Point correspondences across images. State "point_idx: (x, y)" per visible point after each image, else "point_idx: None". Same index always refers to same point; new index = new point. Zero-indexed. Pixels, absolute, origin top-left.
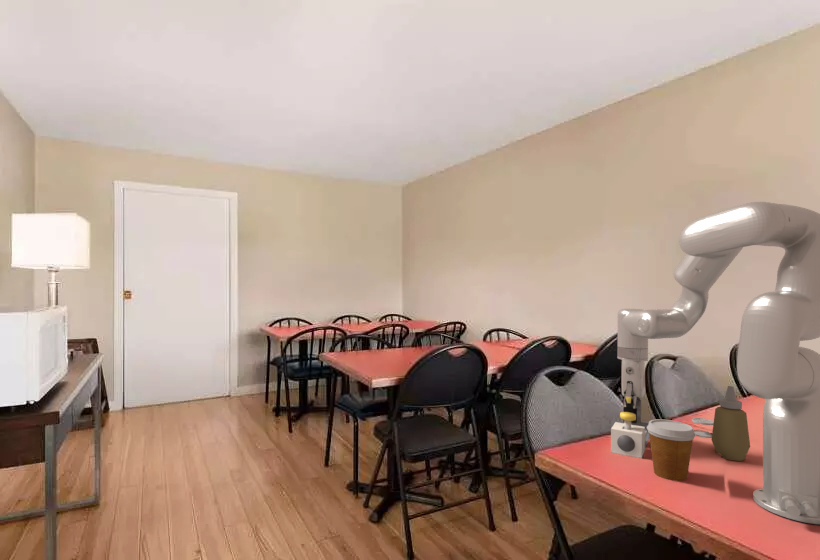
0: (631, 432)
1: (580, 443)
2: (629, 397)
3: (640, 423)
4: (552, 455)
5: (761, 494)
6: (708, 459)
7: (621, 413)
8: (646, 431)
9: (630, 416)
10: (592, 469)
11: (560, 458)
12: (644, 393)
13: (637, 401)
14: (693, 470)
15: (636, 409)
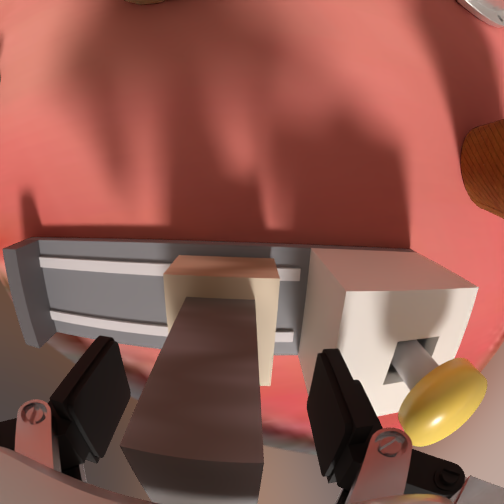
0: (463, 331)
1: (309, 425)
2: (496, 492)
3: (210, 319)
4: None
5: (478, 3)
6: (234, 17)
7: (446, 434)
8: (46, 258)
9: (485, 386)
10: (481, 345)
11: None
12: (74, 496)
13: (230, 475)
14: (399, 81)
15: (371, 419)
